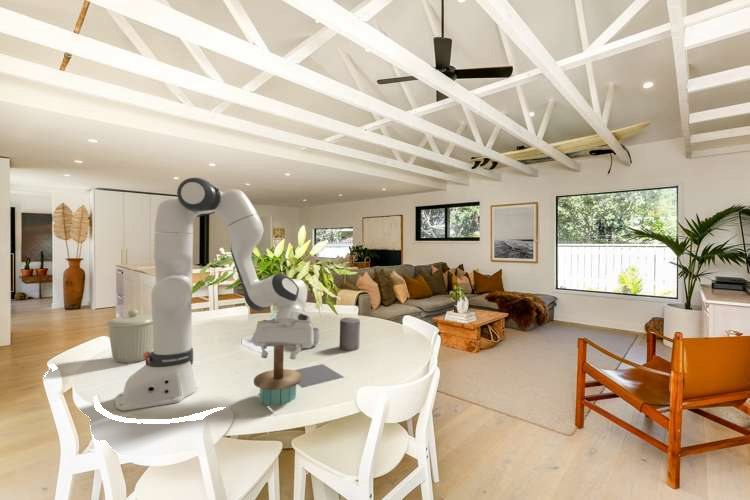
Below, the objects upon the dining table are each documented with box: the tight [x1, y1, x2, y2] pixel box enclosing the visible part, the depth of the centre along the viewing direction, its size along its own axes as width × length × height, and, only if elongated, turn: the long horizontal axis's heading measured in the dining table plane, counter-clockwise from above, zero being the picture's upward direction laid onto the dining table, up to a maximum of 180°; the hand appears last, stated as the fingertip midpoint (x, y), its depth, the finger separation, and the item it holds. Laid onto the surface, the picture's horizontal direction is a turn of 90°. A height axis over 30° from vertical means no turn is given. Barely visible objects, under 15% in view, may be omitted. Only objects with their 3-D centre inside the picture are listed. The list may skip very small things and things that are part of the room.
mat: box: [293, 363, 344, 389], centre depth 133 cm, size 17×17×1 cm
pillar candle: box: [339, 317, 361, 352], centre depth 170 cm, size 10×10×15 cm
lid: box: [253, 345, 302, 390], centre depth 114 cm, size 15×15×11 cm
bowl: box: [259, 385, 297, 407], centre depth 114 cm, size 11×11×6 cm
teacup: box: [311, 327, 320, 348], centre depth 174 cm, size 14×11×8 cm
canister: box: [106, 309, 153, 364], centre depth 148 cm, size 18×18×21 cm
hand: (278, 357), depth 113 cm, fingers open, 8 cm apart
